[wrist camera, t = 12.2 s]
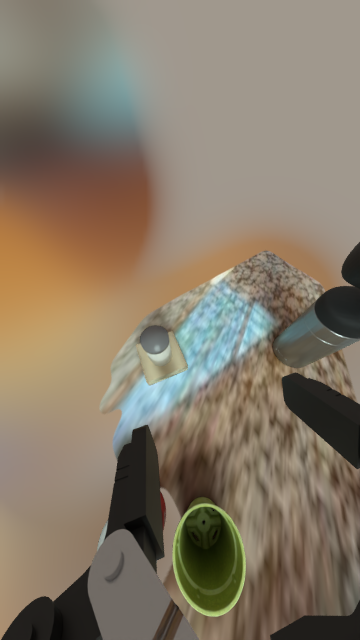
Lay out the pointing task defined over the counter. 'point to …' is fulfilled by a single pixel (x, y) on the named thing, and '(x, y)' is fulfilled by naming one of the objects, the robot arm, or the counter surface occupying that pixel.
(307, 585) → the counter surface
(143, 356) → the maple base
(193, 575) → the plant pot
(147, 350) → the spice jar
